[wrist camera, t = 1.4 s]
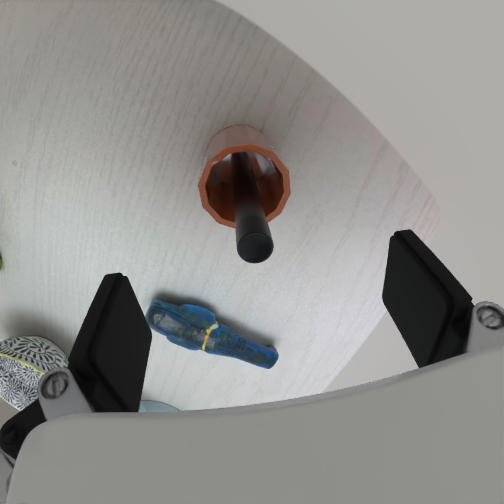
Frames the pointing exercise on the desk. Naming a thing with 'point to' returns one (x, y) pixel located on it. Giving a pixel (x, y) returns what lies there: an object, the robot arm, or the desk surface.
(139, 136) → the desk surface
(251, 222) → the stylus
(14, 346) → the bowl
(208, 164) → the pen pot
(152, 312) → the figurine
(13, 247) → the desk surface
